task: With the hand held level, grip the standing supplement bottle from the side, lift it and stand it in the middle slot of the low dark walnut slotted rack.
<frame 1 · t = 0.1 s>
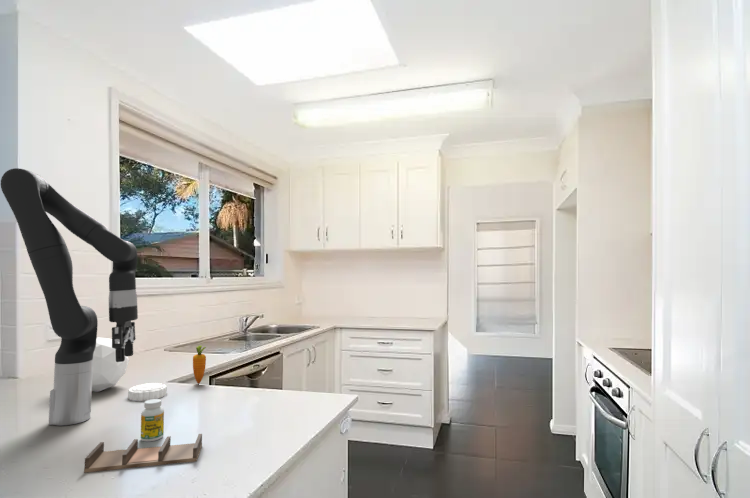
hand: (124, 358, 128), 17 cm above the worktop, tool pointing down, fingers open, 8 cm apart
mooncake: (147, 397, 149), on the worktop
carrot: (198, 384, 165), on the worktop
ball: (97, 390, 156), on the worktop
supplement bottle: (151, 438, 111), on the worktop
slot rack: (147, 458, 99), on the worktop
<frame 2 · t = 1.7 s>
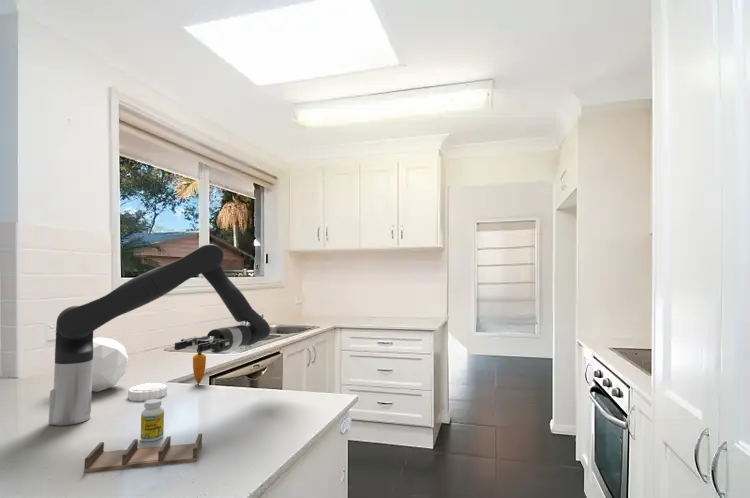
hand: (186, 347, 123), 22 cm above the worktop, tool horizontal, fingers open, 8 cm apart
nothing on the worktop moved.
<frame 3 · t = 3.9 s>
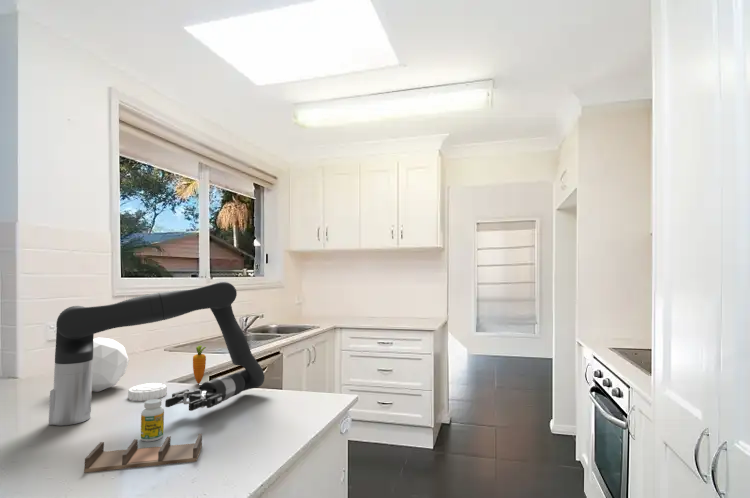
hand: (177, 405, 119), 6 cm above the worktop, tool horizontal, fingers open, 8 cm apart
nothing on the worktop moved.
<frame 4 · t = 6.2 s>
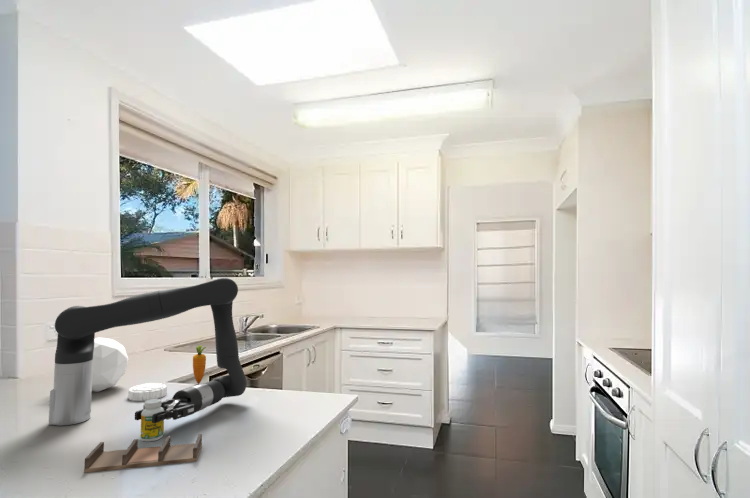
hand: (144, 417, 109), 6 cm above the worktop, tool horizontal, fingers closed on supplement bottle, 5 cm apart
supplement bottle: (151, 438, 111), on the worktop, touching gripper
everything else where it was.
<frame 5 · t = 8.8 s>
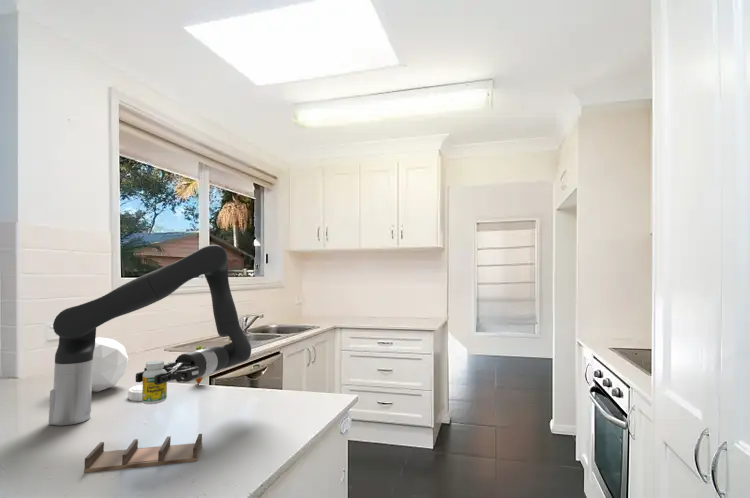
hand: (146, 379, 102), 18 cm above the worktop, tool horizontal, fingers closed on supplement bottle, 5 cm apart
supplement bottle: (154, 402, 104), point 12 cm above the worktop, touching gripper
everything else where it was.
when the fingers open (9 cm above the worktop, at t = 11.7 s): supplement bottle drops 2 cm, resting on slot rack.
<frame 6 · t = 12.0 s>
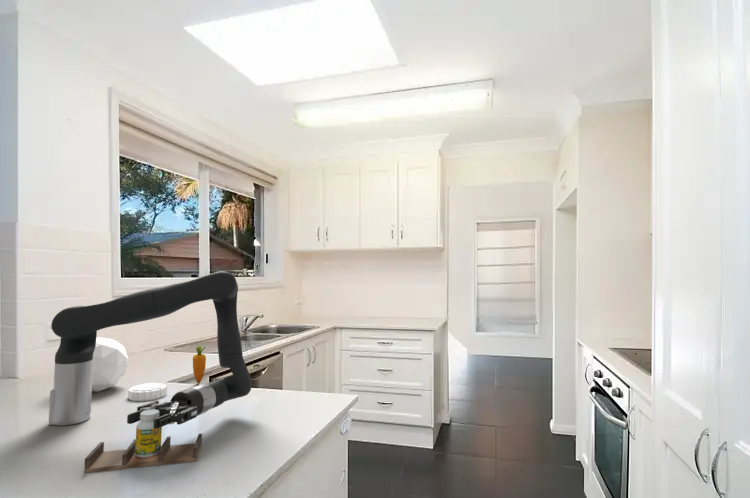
hand: (141, 421, 98), 9 cm above the worktop, tool horizontal, fingers open, 8 cm apart
supplement bottle: (147, 454, 99), point 1 cm above the worktop, touching slot rack
everything else where it was.
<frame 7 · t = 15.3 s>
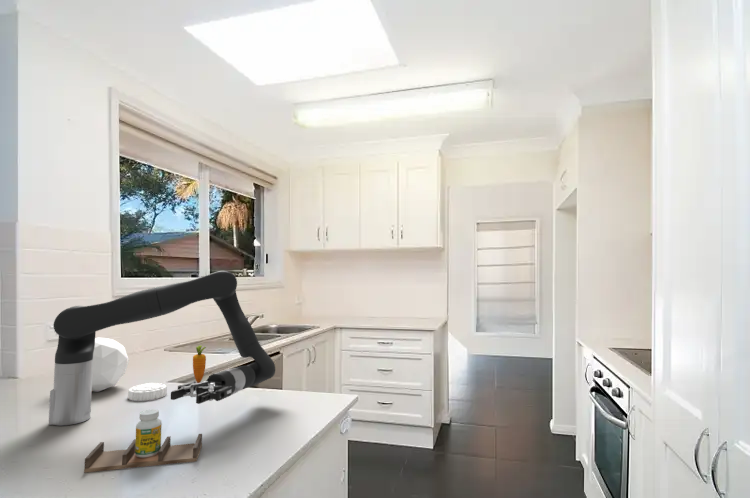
hand: (184, 397, 110), 11 cm above the worktop, tool horizontal, fingers open, 8 cm apart
nothing on the worktop moved.
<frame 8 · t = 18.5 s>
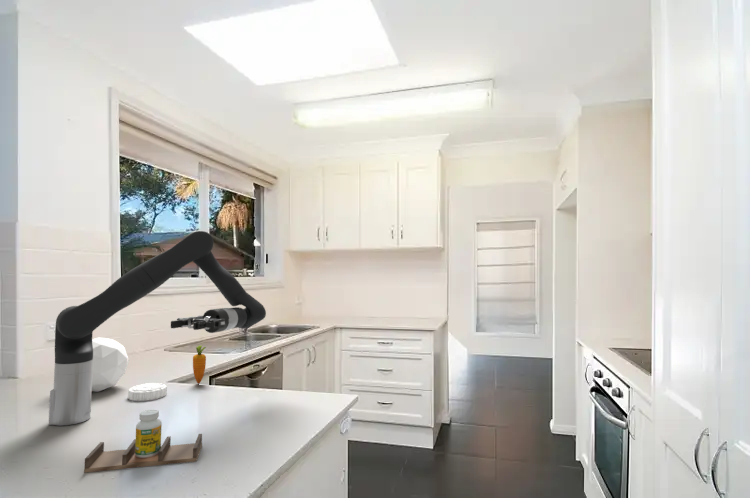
hand: (182, 325, 124), 28 cm above the worktop, tool horizontal, fingers open, 8 cm apart
nothing on the worktop moved.
at the end: supplement bottle 0.3 cm off-centre on the slot rack, point 0.7 cm above the slot rack's base; supplement bottle tilted 1°; the gripper is holding nothing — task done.
